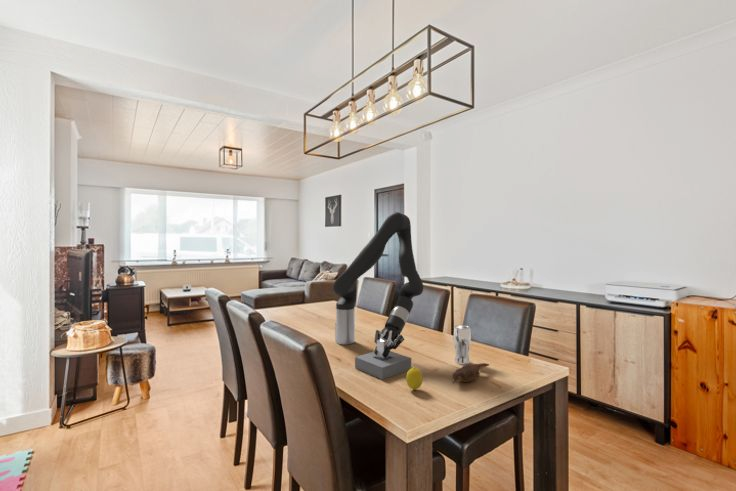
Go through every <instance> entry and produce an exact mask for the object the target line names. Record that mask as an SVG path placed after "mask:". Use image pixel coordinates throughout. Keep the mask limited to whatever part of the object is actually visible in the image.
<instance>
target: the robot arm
mask: <svg viewBox="0 0 736 491" xmlns="http://www.w3.org/2000/svg"><path fill="white" fill-rule="evenodd" d="M395 234H396V236H397V238H398V241H399V244H398V245H399V250H398V264H399V268H400V273H401V275H402V277H404V278H407V280H408V282H405V283H404V284H403V285H402V286H401V287H400V289H399V294H398V299H397V301H396V303H395V305H394V307H393V309H392V310H391V311H390V314H389V315H388V318H387V319H386V322H385V323H384V327H383V328H382V330H379V329H376V330H375V334H374V343H375V344H376V346H375V348H374V351H373V352H374V353H375V354H376V355H377V340H380V339H386V340H388V343H387V347H386V348H385V350H384V352H383V354H382V355H383V357H385V358H386V356H388V354H389V352H390V351H391V350H392V349H393V350H396V349H397V348H398V347H400V345H401V344H402V342H404V341H405V337H404V336H403V335H402V334H401V333H402V332H403V330H404V327H405V326H406V323H407V321H408V318H409V316H410V313H411V311H412V309H413V307H414V301H413V300H412V299H413V298H414V297H418V296H421V295H422V294H423V292H424V284H423V280H422V279H421V277H420V274H419V273H418V270H417V267H416V262H415V256H414V252H413V251H414V250H413V244H412V226H411V220H410V218H409V217H408V216H407V215H406V214H403V213H402V212H398V211H393V212H391V213H389V214H388V216H387V217H386V219H385V220H384V222H383V223H382V224H381V226H380V227H379V229H378V230H377V232H375V234H374V235H373V237H372V238H371V239H370V240H369V242H367V243H366V245H365V246H364V247H363V249H362V250H361V251H360V252H359V254H358V255H357V256H356V257H355V258H354V259H353V261H352V262H351V263H350V265H349V266H348V267H347V268H346V269H345V271H343V272H342V274H340V276H338V277H337V278H336V279H335V281H334V283H333V287H332V288H333V292H334V294H336V295H337V296H339V297H338V299H337V302H336V304H335V310H336V312H335V317H336V318H335V323H334V324H335V326H334V330H335V338H334V339H335V342H336V344H338V345H343V346H345V345H352V344H354V343H355V339H356V338H355V331H356V330H355V322H356V321H355V319H356V318H355V314H356V313H355V305H356V302H357V283H356V281H358V279H360V278H361V276H363V275H364V274H366V273H367V272H368V271H369V270H370V269H372V268H373V267H374V266H375V265H376V263H378V261H379V260H380V259H381V258H382V256H383V255H384V251H385V249H386V245H387V243H388V242H389V240H391V238H392V237H393V236H394V235H395Z"/></svg>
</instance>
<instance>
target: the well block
mask: <svg viewBox="0 0 736 491" xmlns="http://www.w3.org/2000/svg"><path fill="white" fill-rule="evenodd" d="M354 368H355V369H357V370H359V371H361V372H364V373H366V374H369V375H370V376H372V377H375V378H377V379H380V380H381V381H383V380H386V379H388V378H390V377H393V376H396V375H399V374H401V373H404V372H408V371H409V370H410V369H411V368H412V358H411V357H409V356H406V355H403V354H400V353H397V352H394V351H391V350H390V352H389V359H388V360H385V361H381V360H378V359H377V355H376V354H375V353H374V351H370V352H368V353H364V354H361V355H358V356H357V355H356V356H354Z"/></svg>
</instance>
